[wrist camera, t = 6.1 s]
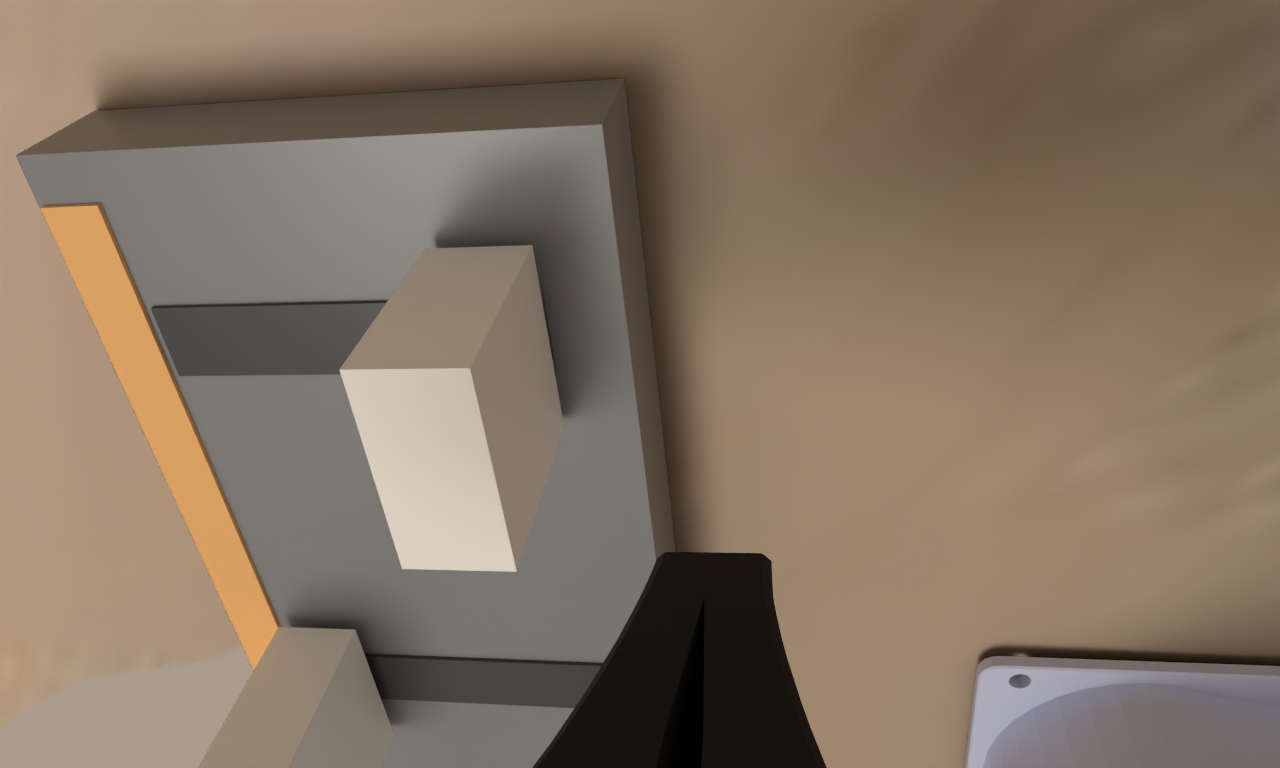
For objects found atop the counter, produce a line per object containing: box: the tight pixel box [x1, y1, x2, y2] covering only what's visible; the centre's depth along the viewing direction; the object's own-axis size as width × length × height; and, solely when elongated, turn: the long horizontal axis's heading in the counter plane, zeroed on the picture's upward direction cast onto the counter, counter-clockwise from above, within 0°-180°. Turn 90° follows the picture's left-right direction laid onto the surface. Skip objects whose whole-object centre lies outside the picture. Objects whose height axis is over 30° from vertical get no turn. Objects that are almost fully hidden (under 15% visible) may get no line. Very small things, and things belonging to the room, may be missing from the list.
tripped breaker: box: [339, 245, 564, 572], centre depth 17 cm, size 2×4×4 cm, turn 6°
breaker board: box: [16, 79, 676, 768], centre depth 26 cm, size 11×28×3 cm, turn 6°
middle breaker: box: [198, 627, 394, 768], centre depth 24 cm, size 2×4×4 cm, turn 5°
